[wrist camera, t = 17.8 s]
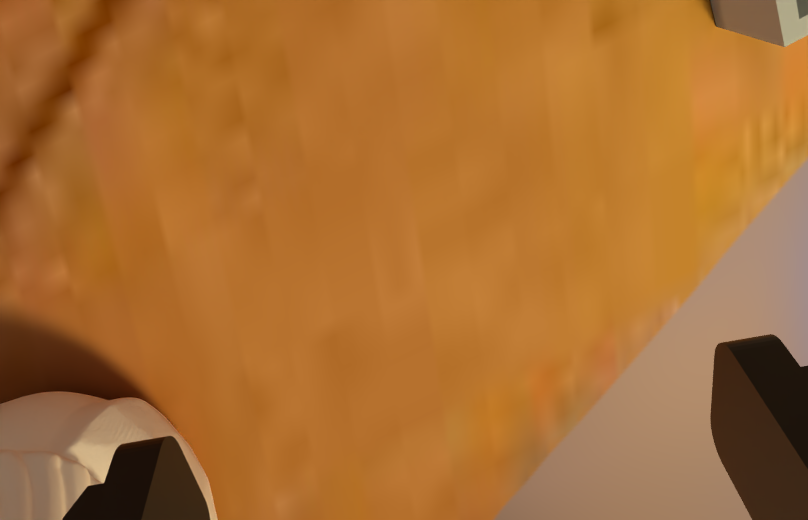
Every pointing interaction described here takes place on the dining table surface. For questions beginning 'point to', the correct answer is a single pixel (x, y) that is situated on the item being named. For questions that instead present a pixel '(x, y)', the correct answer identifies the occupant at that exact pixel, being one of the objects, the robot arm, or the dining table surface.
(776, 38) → the tote
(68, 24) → the dining table surface
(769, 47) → the dining table surface
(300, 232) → the dining table surface
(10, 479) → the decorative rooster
